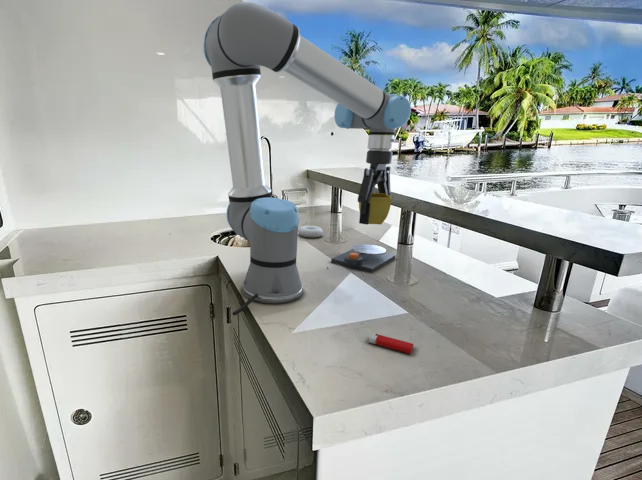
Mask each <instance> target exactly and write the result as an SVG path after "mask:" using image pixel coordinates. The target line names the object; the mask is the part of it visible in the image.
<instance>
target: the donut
mask: <svg viewBox="0 0 642 480" xmlns="http://www.w3.org/2000/svg"><path fill="white" fill-rule="evenodd" d="M323 234H324V230H323V228H322V227H320V226H317V225H303V226H300V227H298V235H299V236H301V237H303V238H309V239H315V238H321V237H322V235H323Z"/></svg>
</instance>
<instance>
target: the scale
mask: <svg viewBox="0 0 642 480" xmlns="http://www.w3.org/2000/svg"><path fill="white" fill-rule="evenodd" d="M350 253H357V252H354V251H353V250H352V249H350V250H348V251H346V252H343V253H341V254H339V255H336V256H334V257H332V258H331V260H330V263H332V264H334V265H335V264H336V265H338V266H339V265H340V266H342V267H343V266H344V267H347V268H351V269H355V270H359V271H362V272H367V273H371V274H372V273H374V272H376V271H377V270H379V269H380V268H382V267H384V266H386V265H388V264H390V263H391V262H392V261H394V260H396V257H397V256H396V254H393V253H387V252H386V253H385V254H382V255H365V254H360V253H358V259H351V258H349V257H350Z"/></svg>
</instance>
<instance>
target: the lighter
mask: <svg viewBox="0 0 642 480" xmlns="http://www.w3.org/2000/svg"><path fill="white" fill-rule="evenodd" d="M368 343H370V344H374V345H378V346H381V347H384V348H388V349H391V350H395V351H398V352H403V353H406V354H409V355H411V353H412V351H413V349H414V343H413V342H408V341H405V340H401V339H397V338H393V337H389V336H386V335H382V334H378V333H375V334H370V335H369V338H368Z"/></svg>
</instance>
